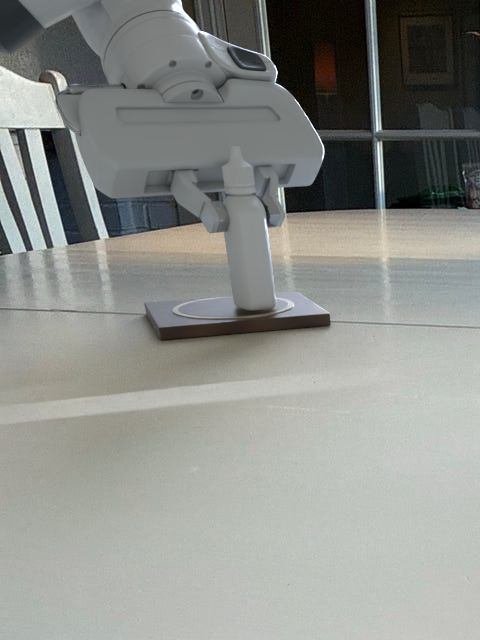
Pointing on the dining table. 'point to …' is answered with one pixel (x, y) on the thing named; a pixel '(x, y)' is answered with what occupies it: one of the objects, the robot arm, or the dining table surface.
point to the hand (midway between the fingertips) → (249, 224)
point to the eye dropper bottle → (247, 238)
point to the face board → (231, 316)
